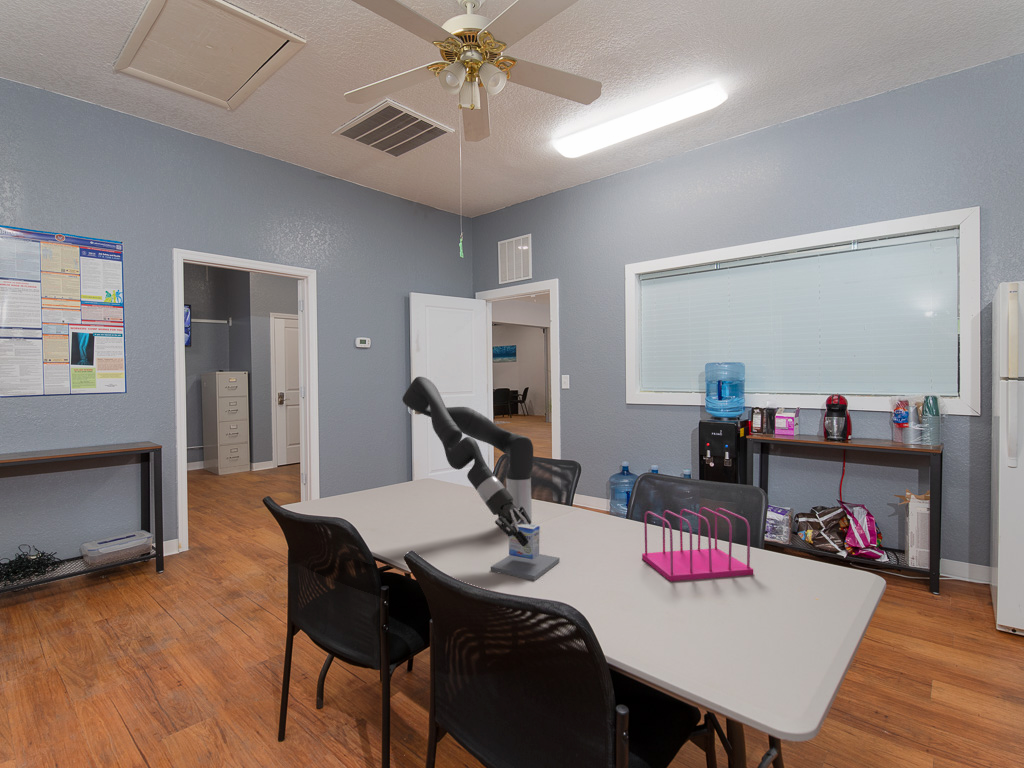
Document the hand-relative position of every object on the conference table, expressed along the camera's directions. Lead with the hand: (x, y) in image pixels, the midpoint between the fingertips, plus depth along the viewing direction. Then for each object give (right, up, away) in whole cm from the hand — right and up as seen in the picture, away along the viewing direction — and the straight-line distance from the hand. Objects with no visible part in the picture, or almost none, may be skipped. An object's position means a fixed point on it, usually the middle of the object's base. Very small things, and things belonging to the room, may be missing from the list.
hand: (530, 541), depth 144 cm
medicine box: (-2, -4, +1) cm, 5 cm away
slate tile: (-1, -7, +1) cm, 8 cm away
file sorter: (+48, -8, 0) cm, 48 cm away
